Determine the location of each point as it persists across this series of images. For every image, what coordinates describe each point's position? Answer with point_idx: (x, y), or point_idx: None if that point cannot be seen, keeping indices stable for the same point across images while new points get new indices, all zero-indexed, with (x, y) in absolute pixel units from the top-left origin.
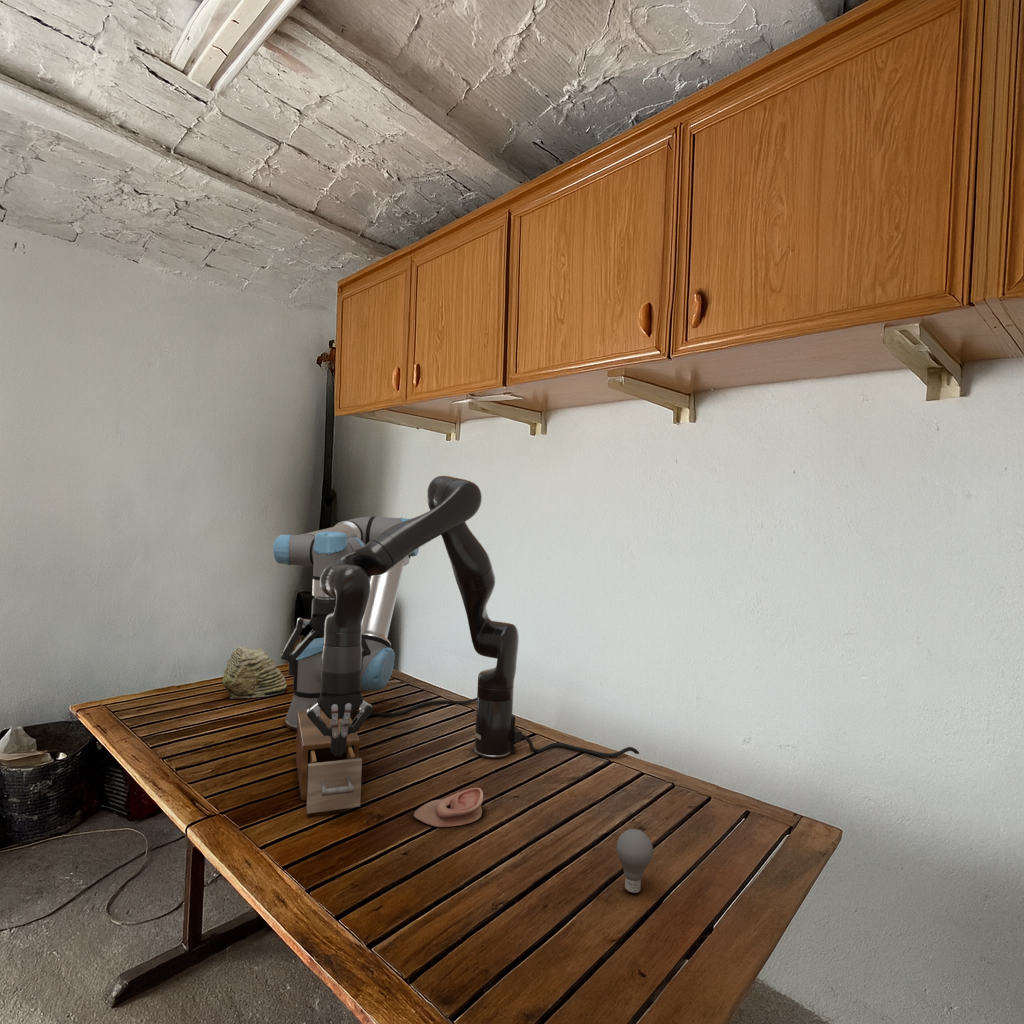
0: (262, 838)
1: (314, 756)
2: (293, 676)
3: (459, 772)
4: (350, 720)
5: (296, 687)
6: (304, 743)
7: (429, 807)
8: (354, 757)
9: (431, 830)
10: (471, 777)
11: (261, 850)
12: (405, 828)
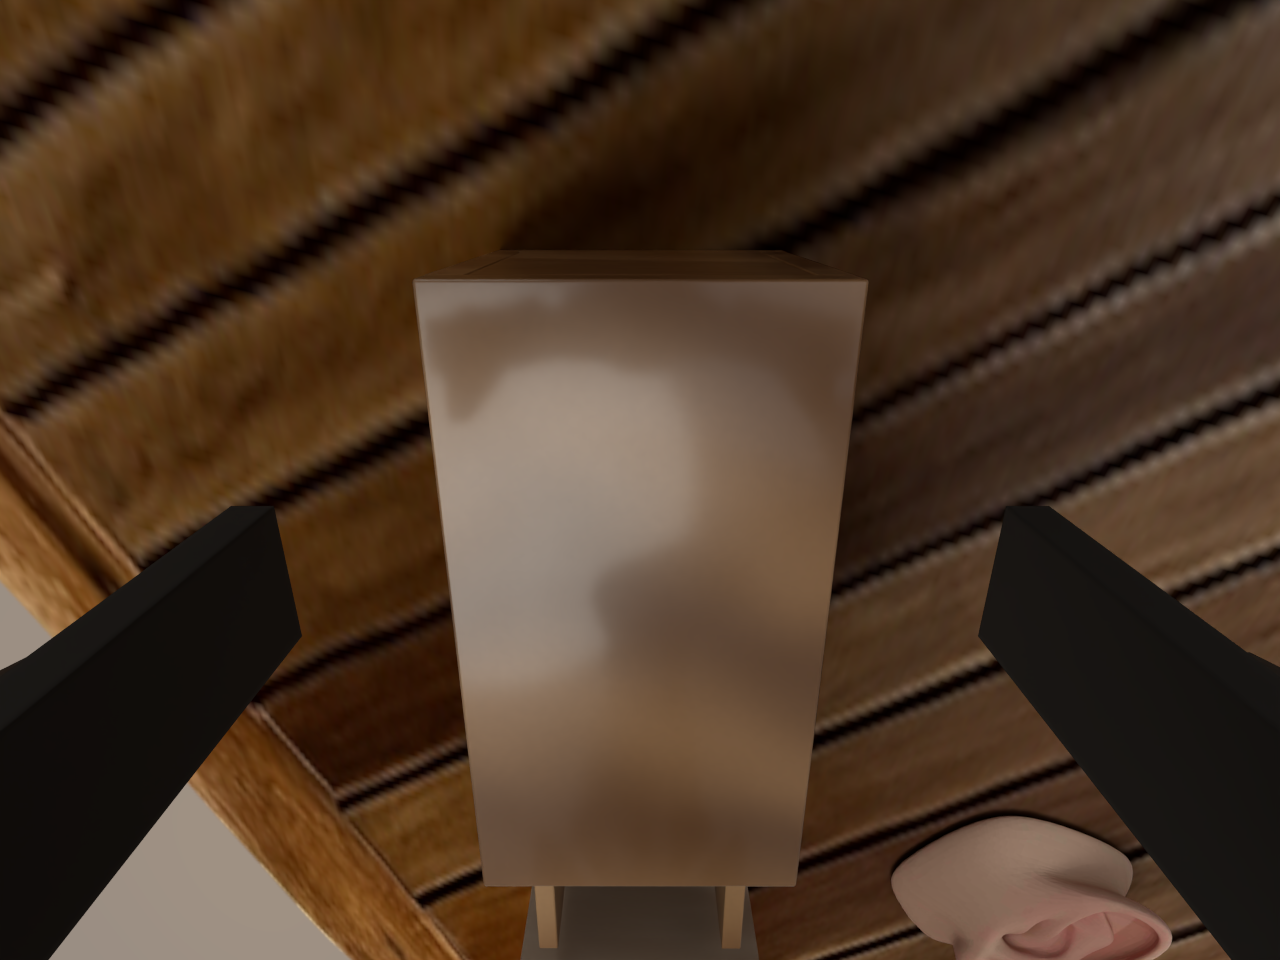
0: (417, 864)
1: (548, 908)
2: (134, 579)
3: (1233, 619)
4: (820, 597)
5: (277, 654)
6: (490, 868)
7: (951, 913)
8: (736, 946)
9: (912, 935)
10: None
11: (422, 912)
12: (842, 911)
